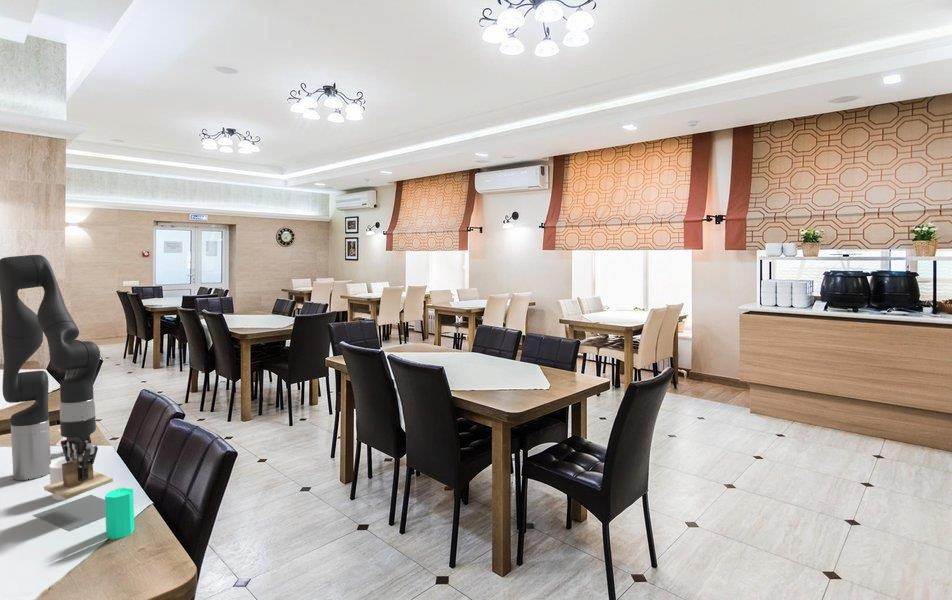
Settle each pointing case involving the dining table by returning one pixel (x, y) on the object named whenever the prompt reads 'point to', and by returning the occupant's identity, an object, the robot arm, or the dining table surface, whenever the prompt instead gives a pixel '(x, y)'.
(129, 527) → the candle
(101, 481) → the lid
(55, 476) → the white cup
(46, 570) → the dining table surface
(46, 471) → the robot arm
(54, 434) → the dining table surface
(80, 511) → the mat
